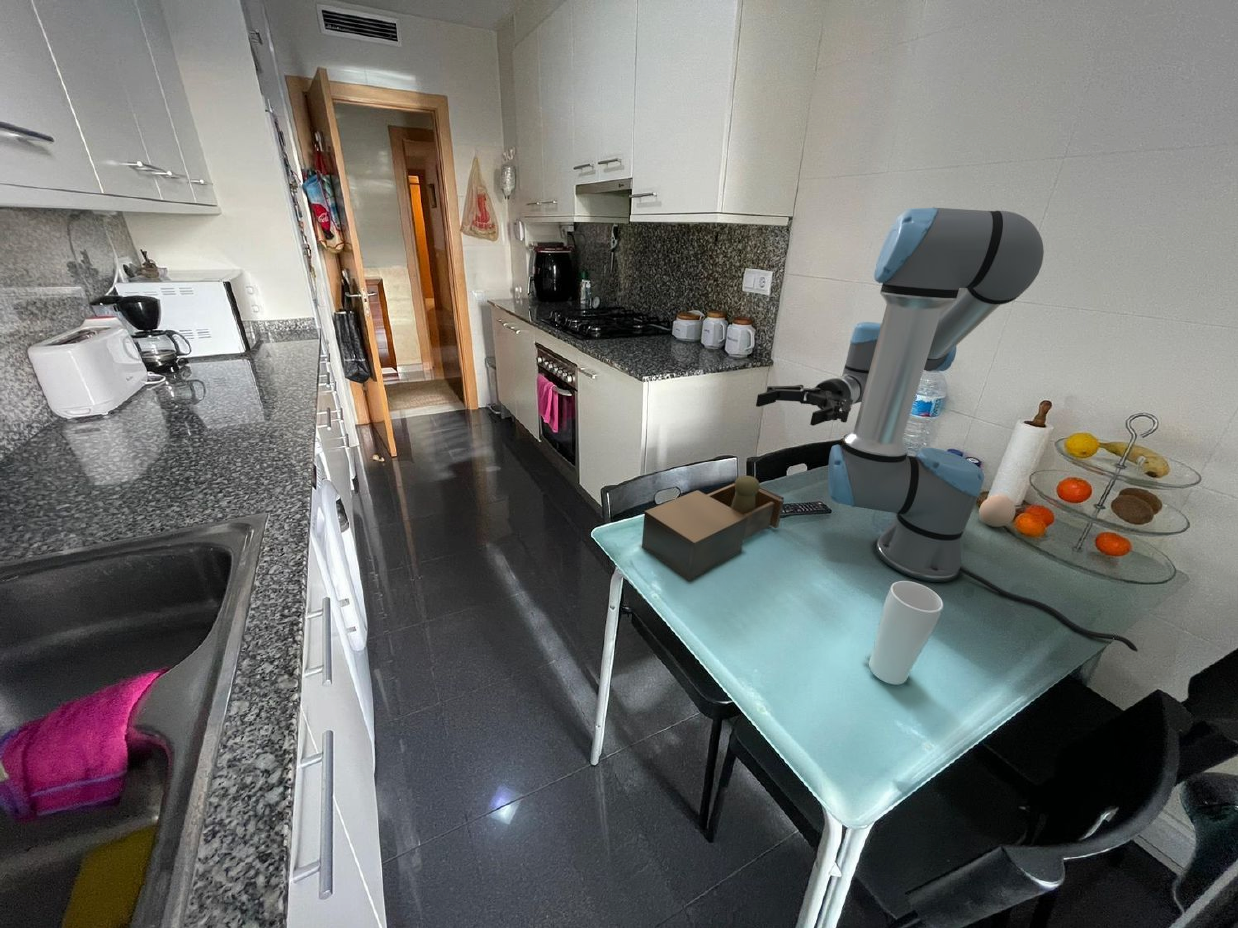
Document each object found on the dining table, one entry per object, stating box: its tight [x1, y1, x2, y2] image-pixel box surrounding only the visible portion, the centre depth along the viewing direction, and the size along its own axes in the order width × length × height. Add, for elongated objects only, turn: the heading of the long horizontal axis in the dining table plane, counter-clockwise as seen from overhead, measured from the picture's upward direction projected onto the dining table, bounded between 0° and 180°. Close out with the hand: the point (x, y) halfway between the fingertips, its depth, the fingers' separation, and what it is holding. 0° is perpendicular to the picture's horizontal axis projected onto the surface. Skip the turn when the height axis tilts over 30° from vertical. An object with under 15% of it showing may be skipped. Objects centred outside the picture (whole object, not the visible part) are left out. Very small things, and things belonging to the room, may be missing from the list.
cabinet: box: [641, 489, 748, 582], centre depth 101 cm, size 16×14×9 cm
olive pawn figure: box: [731, 475, 761, 515], centre depth 108 cm, size 6×6×11 cm
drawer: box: [706, 479, 785, 542], centre depth 111 cm, size 19×12×7 cm, turn 129°
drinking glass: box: [868, 580, 944, 686], centre depth 73 cm, size 7×7×15 cm
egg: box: [978, 494, 1016, 528], centre depth 116 cm, size 7×7×8 cm
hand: (784, 409), depth 107 cm, fingers open, 13 cm apart
